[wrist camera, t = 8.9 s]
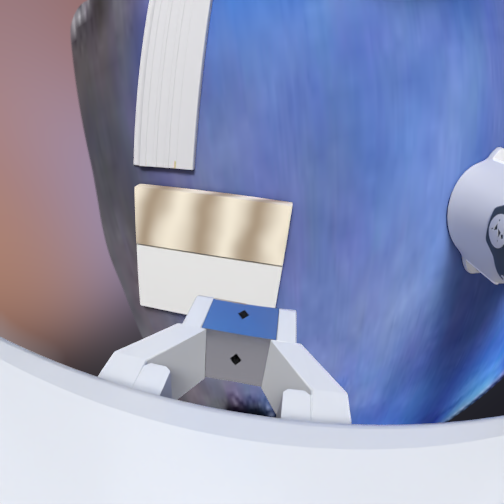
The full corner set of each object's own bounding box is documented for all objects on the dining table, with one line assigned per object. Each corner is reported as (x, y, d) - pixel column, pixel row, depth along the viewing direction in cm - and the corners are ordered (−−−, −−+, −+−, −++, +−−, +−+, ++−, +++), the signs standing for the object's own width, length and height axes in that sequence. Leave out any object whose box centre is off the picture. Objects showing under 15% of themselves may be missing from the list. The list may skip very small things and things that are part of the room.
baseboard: (127, 163, 41) (196, 168, 40) (117, 166, 38) (189, 171, 37) (150, -38, 28) (221, -44, 28) (142, -45, 26) (216, -53, 25)
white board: (282, 262, 43) (282, 267, 42) (272, 322, 47) (271, 329, 46) (141, 240, 44) (136, 244, 43) (144, 299, 48) (140, 305, 47)
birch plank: (292, 202, 39) (292, 206, 38) (282, 260, 43) (282, 265, 41) (139, 183, 41) (134, 187, 39) (141, 238, 44) (136, 243, 43)
